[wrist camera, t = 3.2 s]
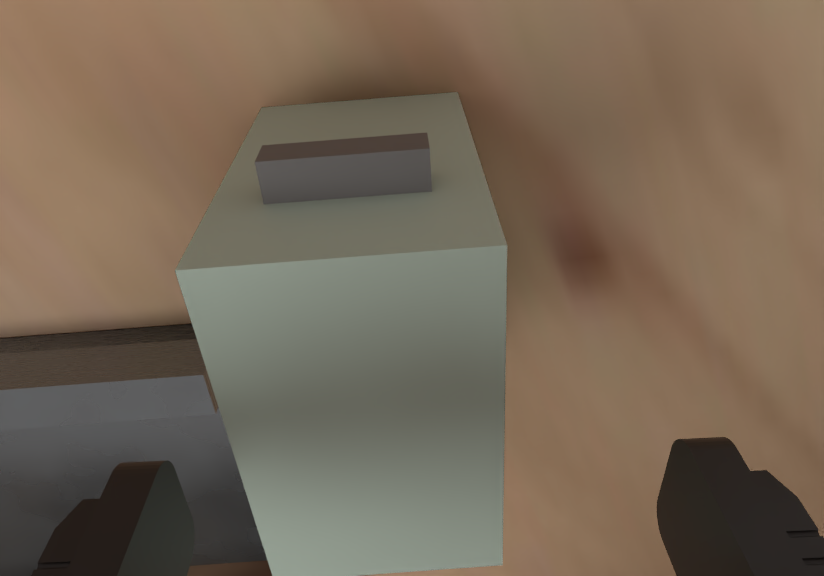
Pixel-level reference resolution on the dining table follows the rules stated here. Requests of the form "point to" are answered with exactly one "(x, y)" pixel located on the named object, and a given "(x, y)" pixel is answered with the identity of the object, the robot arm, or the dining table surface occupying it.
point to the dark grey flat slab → (113, 436)
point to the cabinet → (359, 335)
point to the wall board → (232, 569)
